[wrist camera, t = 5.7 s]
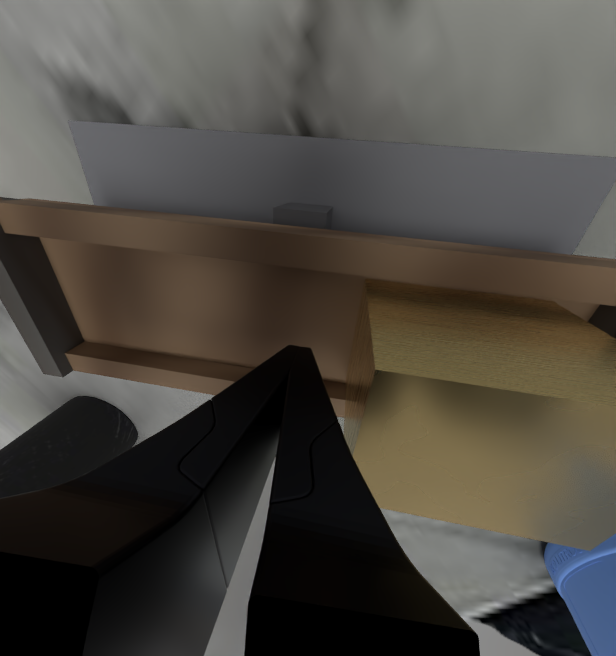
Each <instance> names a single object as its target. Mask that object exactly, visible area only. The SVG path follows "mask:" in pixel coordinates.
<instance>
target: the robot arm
mask: <svg viewBox="0 0 616 656" xmlns="http://www.w3.org/2000/svg"><path fill="white" fill-rule="evenodd" d="M275 455H276V460H275V466H274V473H273V480H272V487H271V493H270V500H269V508H268V513H267V519H266V526H265V531H264V536H263V542H262V546H261V551H260V555H259V559H258V564H257V568H256V572H255V576H254V580H253V585H252V589H251V593H250V597H249V602H248V609H247V623H246V637H245V651H244V656H480V651H479V638H478V635H477V634H476V633H475V631H474V630H473V629H472V628H471V627H469V625H468V624H467V623H466V622H465V621H464V620H463V619H462V618H461V617H460V616H459V614H458V613H457V612H456V611H455V610H454V609H453V608H452V607H451V606H450V605H449V604H448V603H447V602H446V601H445V600H444V599H443V597H442V596H441V595H440V594H439V593H438V592H437V591H436V590H435V589H434V588H433V587H432V586H431V585H430V584H429V583H428V581H427V580H426V579H425V578H424V577H423V576H422V575H421V574H420V573H419V571H418V570H417V569H416V568H415V566H414V565H413V564H412V563H411V561H410V560H409V558H408V557H407V556H406V554H405V553H404V551H403V550H402V548H401V546H400V545H399V543H398V541H397V540H396V538H395V536H394V534H393V532H392V531H391V529H390V527H389V525H388V523H387V521H386V519H385V517H384V516H383V514H382V512H381V510H380V508H379V506H378V504H377V502H376V500H375V499H374V497H373V495H372V493H371V491H370V489H369V487H368V485H367V483H366V482H365V480H364V478H363V476H362V474H361V472H360V470H359V468H358V466H357V464H356V462H355V460H354V458H353V456H352V454H351V452H350V449H349V447H348V444H347V442H346V440H345V437H344V435H343V432H342V429H341V427H340V424H339V423H338V419H337V416H336V414H335V411H334V408H333V405H332V403H331V400H330V397H329V395H328V392H327V389H326V387H325V384H324V381H323V378H322V376H321V373H320V370H319V368H318V365H317V362H316V359H315V357H314V354H313V351H312V349H311V348H310V347H303V346H296V345H287V346H286V347H285V348H283V349H282V350H280V351H279V352H277V353H276V354H274V355H273V356H272V357H270V358H269V359H267V360H266V361H264V362H263V363H261V364H260V365H259V366H257V367H256V368H254V369H253V370H251V371H250V372H249V373H247V374H246V375H244V376H243V377H241V378H240V379H238V380H237V381H236V382H234V383H233V384H231V385H230V386H228V387H227V388H226V389H224V390H223V391H221V392H220V393H218V394H217V395H215V396H214V397H213V398H212V399H211V400H208V401H207V402H205V403H204V404H202V405H201V406H199V407H198V408H196V409H195V410H193V411H192V412H190V413H189V414H187V415H186V416H184V417H183V418H181V419H180V420H178V421H177V422H175V423H173V424H172V425H170V426H168V427H167V428H165V429H163V430H162V431H160V432H158V433H157V434H155V435H153V436H151V437H150V438H148V439H146V440H144V441H143V442H141V443H139V444H137V445H136V446H134V447H132V448H130V449H129V450H127V451H125V452H123V453H122V454H120V455H118V456H117V457H115V458H113V459H111V460H110V461H108V462H106V463H104V464H103V465H101V466H99V467H97V468H95V469H94V470H92V471H90V472H88V473H86V474H84V475H82V476H80V477H77V478H75V479H73V480H70V481H68V482H65V483H63V484H60V485H56V486H53V487H50V488H46V489H42V490H38V491H33V492H28V493H23V494H19V495H14V496H9V497H4V498H0V656H204V654H205V651H206V648H207V645H208V643H209V640H210V637H211V634H212V632H213V629H214V626H215V623H216V620H217V618H218V615H219V612H220V609H221V606H222V604H223V601H224V598H225V595H226V593H227V588H228V587H229V584H230V581H231V578H232V576H233V573H234V570H235V567H236V564H237V562H238V559H239V556H240V553H241V550H242V548H243V545H244V542H245V539H246V536H247V534H248V531H249V528H250V525H251V522H252V520H253V517H254V514H255V511H256V508H257V506H258V503H259V500H260V497H261V495H262V492H263V489H264V486H265V483H266V481H267V478H268V475H269V472H270V469H271V467H272V464H273V461H274V458H275Z"/></svg>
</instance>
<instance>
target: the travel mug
mask: <svg viewBox="0 0 616 656" xmlns="http://www.w3.org/2000/svg"><path fill="white" fill-rule="evenodd" d="M136 440H137V431H136V429H135V427H134V425H133V424H132V422H131V421H130V420H129V419H128V418H127V417H126V416H125V415H124V414H123V413H122V412H121V411H119V410H118V409H117V408H115V407H113V406H112V405H110V404H108V403H106V402H104V401H102V400H99V399H96V398H92V397H85V396H82V397H76V398H74V399H72V400H70V401H68V402H67V403H65V404H64V405H63V406H61V407H60V408H58V409H57V410H55V411H54V412H53V413H51V414H50V415H48V416H47V417H46V418H44V419H43V420H41V421H40V422H39V423H37V424H36V425H35V426H33V427H32V428H30V429H29V430H28V431H26V432H25V433H23V434H22V435H21V436H19V437H18V438H16V439H15V440H14V441H12V442H11V443H9V444H8V445H7V446H5V447H4V448H3V449H1V450H0V498H4V497H9V496H14V495H19V494H23V493H28V492H33V491H38V490H42V489H46V488H50V487H53V486H56V485H60V484H63V483H65V482H68V481H70V480H73V479H75V478H77V477H80V476H82V475H84V474H86V473H88V472H90V471H92V470H94V469H95V468H97V467H99V466H101V465H103V464H104V463H106V462H108V461H110V460H111V459H113V458H115V457H117V456H118V455H120V454H122V453H123V452H125V451H127V450H129V449H130V448H132V446H133V445H134V444H135V442H136Z"/></svg>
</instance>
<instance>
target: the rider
mask: <svg viewBox="0 0 616 656" xmlns="http://www.w3.org/2000/svg"><path fill="white" fill-rule="evenodd" d="M344 437H345V440H346V442H347V444H348V447H349V449H350V452H351V454H352V456H353V458H354V460H355V462H356V464H357V466H358V468H359V470H360V472H361V474H362V476H363V478H364V480H365V482H366V483H367V485H368V487H369V489H370V491H371V493H372V495H373V497H374V499H375V500H376V502H377V504H378V506H379V508H383V509H388V510H393V511H398V512H403V513H408V514H413V515H417V516H422V517H427V518H432V519H437V520H442V521H447V522H452V523H456V524H461V525H466V526H471V527H476V528H481V529H486V530H490V531H495V532H500V533H505V534H510V535H515V536H520V537H524V538H529V539H534V540H539V541H544V542H549V543H554V544H558V545H563V546H568V547H573V548H578V549H583V550H588V551H591V550H592V549H594V548H595V547H596V546H598V545H599V544H601V543H602V542H604V541H605V540H607V539H608V538H610V537H611V536H613V535H614V534H616V339H615V338H614V337H612V336H610V335H609V334H607V333H605V332H604V331H602V330H600V329H599V328H597V327H595V326H594V325H592V324H590V323H589V322H587V321H585V320H584V319H582V318H580V317H579V316H577V315H575V314H574V313H572V312H570V311H569V310H567V309H565V308H564V307H562V306H560V305H559V304H557V303H555V302H554V301H548V300H540V299H532V298H523V297H515V296H507V295H499V294H490V293H482V292H474V291H465V290H457V289H449V288H441V287H432V286H424V285H416V284H408V283H399V282H391V281H383V280H374V279H366V278H365V282H364V287H363V292H362V297H361V302H360V308H359V313H358V318H357V323H356V328H355V333H354V339H353V344H352V349H351V354H350V359H349V365H348V370H347V375H346V394H345V418H344Z"/></svg>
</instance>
